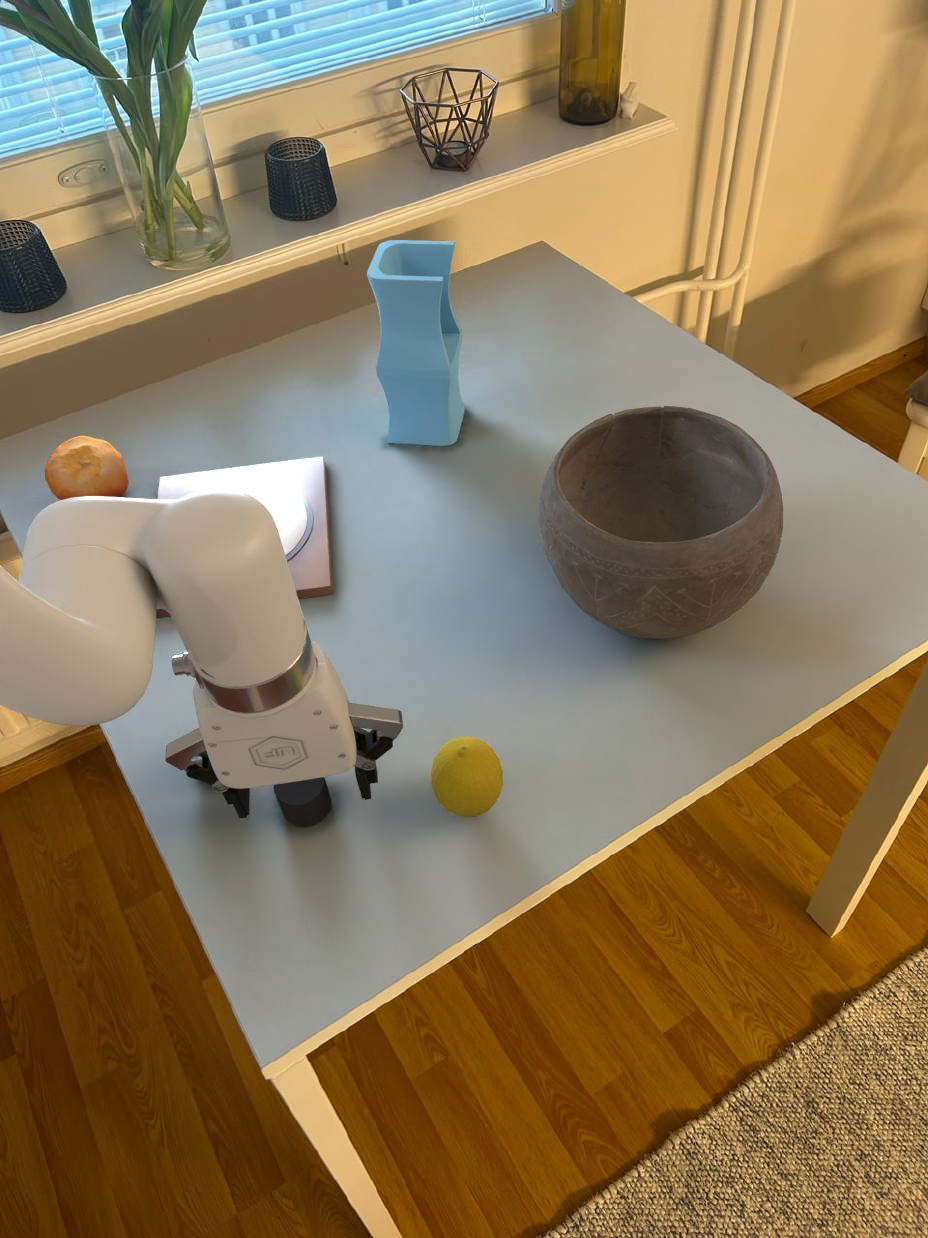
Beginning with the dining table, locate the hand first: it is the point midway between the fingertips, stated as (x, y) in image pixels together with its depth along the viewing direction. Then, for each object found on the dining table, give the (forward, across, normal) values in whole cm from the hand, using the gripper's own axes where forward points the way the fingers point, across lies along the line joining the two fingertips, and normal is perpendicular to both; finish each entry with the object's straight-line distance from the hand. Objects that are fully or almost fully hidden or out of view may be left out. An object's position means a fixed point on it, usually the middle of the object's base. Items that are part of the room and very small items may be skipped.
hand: (305, 793), depth 74 cm
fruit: (+2, -22, +42) cm, 48 cm away
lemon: (+2, +13, -2) cm, 13 cm away
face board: (+2, -6, +33) cm, 34 cm away
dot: (+2, 0, 0) cm, 2 cm away
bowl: (+2, +33, +18) cm, 37 cm away
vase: (+2, +15, +48) cm, 50 cm away
